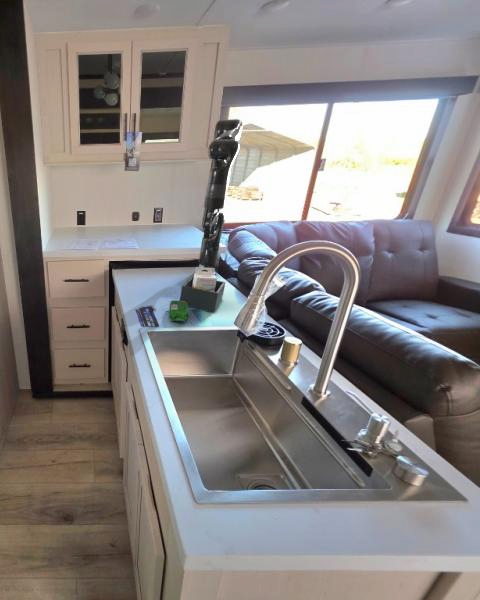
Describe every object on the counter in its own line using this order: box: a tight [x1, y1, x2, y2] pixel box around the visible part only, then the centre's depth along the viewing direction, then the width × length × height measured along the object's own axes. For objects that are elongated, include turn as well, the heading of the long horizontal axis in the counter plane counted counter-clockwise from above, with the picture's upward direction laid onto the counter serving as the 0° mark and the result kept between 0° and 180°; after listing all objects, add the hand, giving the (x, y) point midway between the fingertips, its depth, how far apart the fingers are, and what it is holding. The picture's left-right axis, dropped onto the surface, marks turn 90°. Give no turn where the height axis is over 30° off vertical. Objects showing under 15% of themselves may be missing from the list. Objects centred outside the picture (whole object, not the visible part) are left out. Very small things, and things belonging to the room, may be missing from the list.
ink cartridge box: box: [192, 266, 218, 292], centre depth 136 cm, size 9×5×15 cm, turn 84°
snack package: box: [168, 300, 189, 322], centre depth 125 cm, size 7×16×5 cm, turn 165°
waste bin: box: [179, 275, 226, 314], centre depth 138 cm, size 16×15×9 cm
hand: (208, 236), depth 132 cm, fingers open, 8 cm apart
